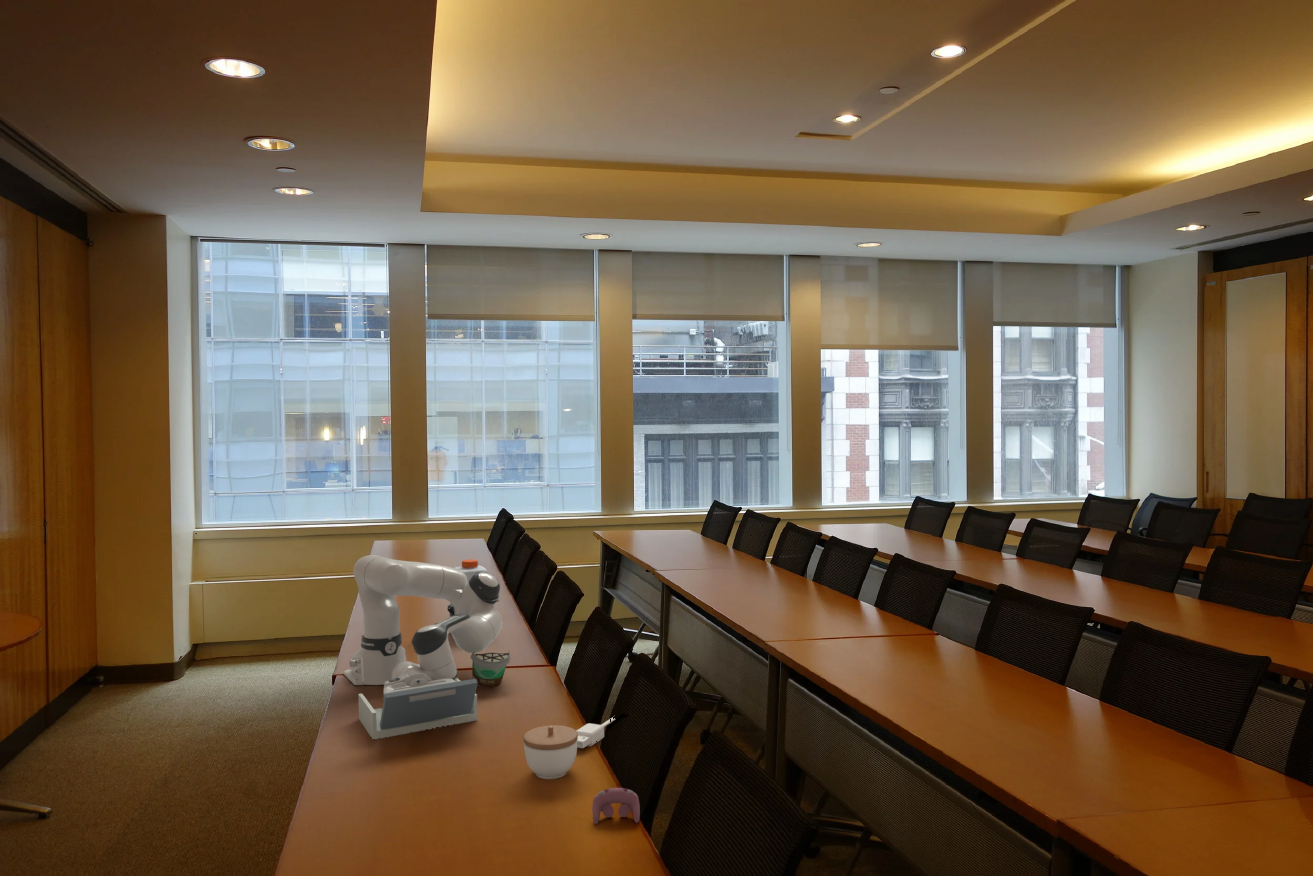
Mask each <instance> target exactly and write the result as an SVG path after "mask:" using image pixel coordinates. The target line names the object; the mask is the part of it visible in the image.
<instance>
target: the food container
mask: <svg viewBox="0 0 1313 876" xmlns="http://www.w3.org/2000/svg"><path fill="white" fill-rule="evenodd" d="M470 654H471V655H470V659H471V661H472V665H471V668H472V669H471V671H472V672H471V679H476V680H477V686H479V687H480V688H481V687H482V688H486V689H487V688H488V689H490V688H495V687H498V686H499V685H500V684H501V683H502V682H503V678H504V674H505V671H506V668H507V665H508V664H509V663H510V662H511V651H510V650H508V652H505V653H504V652H503V653H502V652H501V653H498V652H485V653H474V652H473V653H470Z"/></svg>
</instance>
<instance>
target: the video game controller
mask: <svg viewBox="0 0 1313 876" xmlns="http://www.w3.org/2000/svg"><path fill="white" fill-rule="evenodd" d="M612 804H621V805H620V806H619V807H618V810H617V811H618V815H619V816H620V817H621V818H626V817H628V816H629V814H630V812H631V811H632V817H633V821H634V822H635V824H638V823H639V821H640V815H641V810H640V809H641V806H640V800H639V795H638V794H637V793H636V792H634V791H633V790H631V789H628V788H624V787H611V788H606V789H603V790H600V791H599V792H598V793H596V794H595V795H594V798H593V801H592V806H591V807H592V809H591V811H592V820H593V821H592V822H593V824H594V825H598V823H599V822H600V818H601V813H602V814H603V816H605V818H612V817H613V816H614V814H615V809H614V807H613V806H612Z"/></svg>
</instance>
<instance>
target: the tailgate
mask: <svg viewBox="0 0 1313 876" xmlns="http://www.w3.org/2000/svg"><path fill="white" fill-rule="evenodd" d="M477 686H478V685H477V680H476V679H472V678H471V679H466V680H465V679H464V680H460V681H458V682H452V683H446V684H440V685H434V686H428V687H422V688H416V689H409V690H403V691H397V692H391V693H385V695H384V694H383V702H382V703H383V704H382V707H381V708H382V715H381V721H380V728H381V730H383V729H389V728H394V727H399V726H405V725H410V724H416V723H421V722H427V721H432V720H438V719H443V718H448V717H454V716H459V715H465V714H470V713H471V710H472V706H473V701H474V697H475V694H476V691H477Z"/></svg>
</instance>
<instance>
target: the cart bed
mask: <svg viewBox="0 0 1313 876" xmlns="http://www.w3.org/2000/svg"><path fill="white" fill-rule="evenodd" d="M454 680H455V681H457V682H458V681H461V680H460V679H459V678H458V677H456V678H455V679H454ZM382 708H383V707H379V708H373V706H372V705H371V703H370V702H369V701H368V699H367V698H366V696H364V694H363V693H358V720H359V721H360V723H361V724H362V725H363V727H364V729H365V730H366V732H367V733H368V735H369V736H370V738H371V737H372V738H371V739H372V740H373V739H375V740H380V739H385V737H386V738H391V737H396V736H401V735H407V734H411V732H412V733H416V732H421V731H426V729H428V730H433V729H437V728H436V727H439V728H443V727H442V726H444V727H447V725H449V726H454V724H455V725H459V724H465V723H469V722H470V723H471V722H476V721H478V694H477V693H475V697H474V701H473V706H472V710H471V713H470V714H465V715H459V716H454V717H448V718H443V719H438V720H432V721H427V722H421V723H416V724H410V725H405V726H399V727H394V728H389V729H383V730H381V728H380V721H381V715H382ZM432 728H433V729H432ZM379 738H380V739H379Z"/></svg>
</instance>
